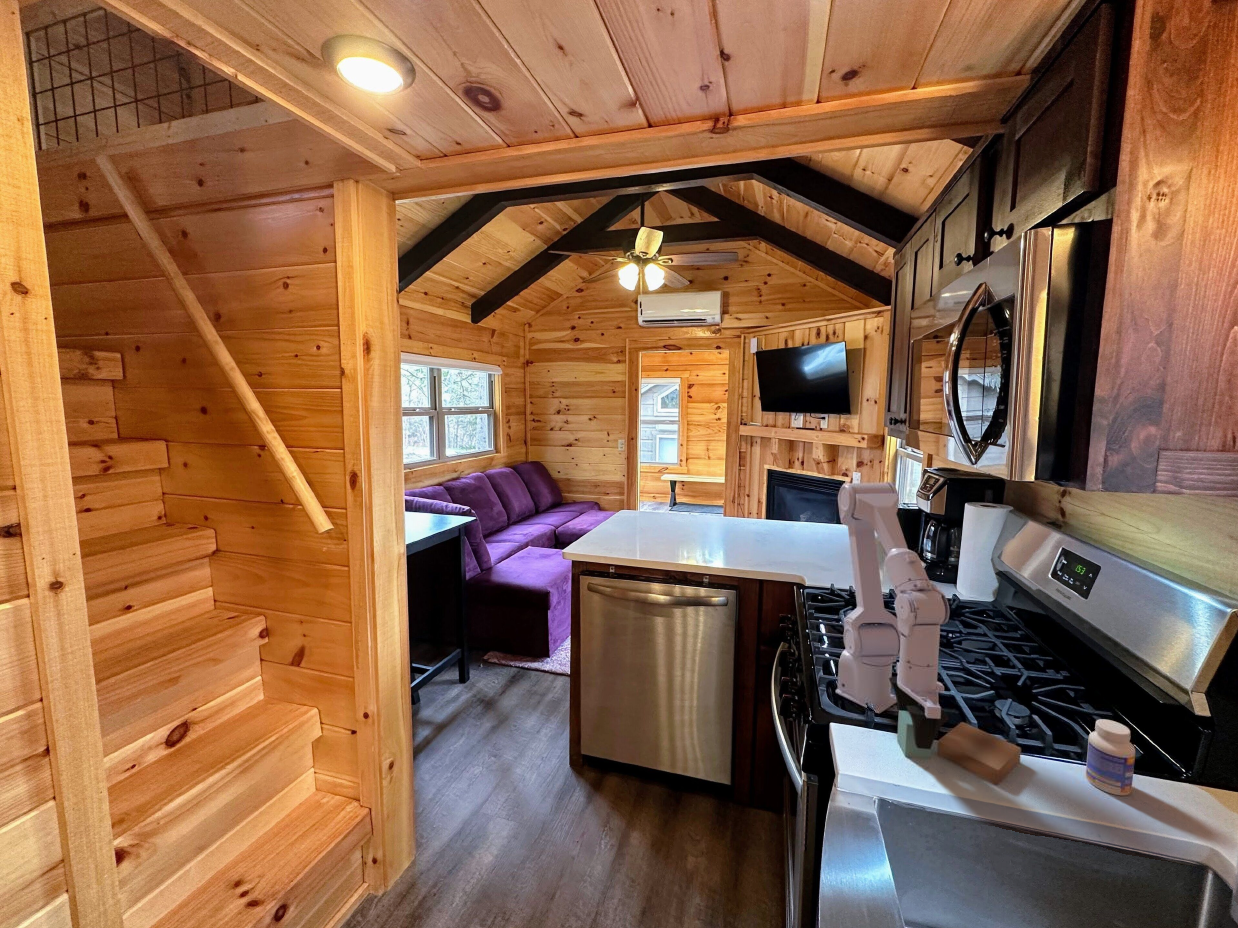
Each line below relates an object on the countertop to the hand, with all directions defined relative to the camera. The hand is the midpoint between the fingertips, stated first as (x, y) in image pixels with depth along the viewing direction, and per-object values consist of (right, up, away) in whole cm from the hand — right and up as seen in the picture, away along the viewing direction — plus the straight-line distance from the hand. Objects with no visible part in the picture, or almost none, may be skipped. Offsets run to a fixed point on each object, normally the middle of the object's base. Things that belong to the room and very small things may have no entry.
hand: (914, 733), depth 93 cm
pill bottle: (+26, -4, -8) cm, 27 cm away
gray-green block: (0, -3, +1) cm, 3 cm away
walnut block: (+10, -4, -2) cm, 11 cm away
